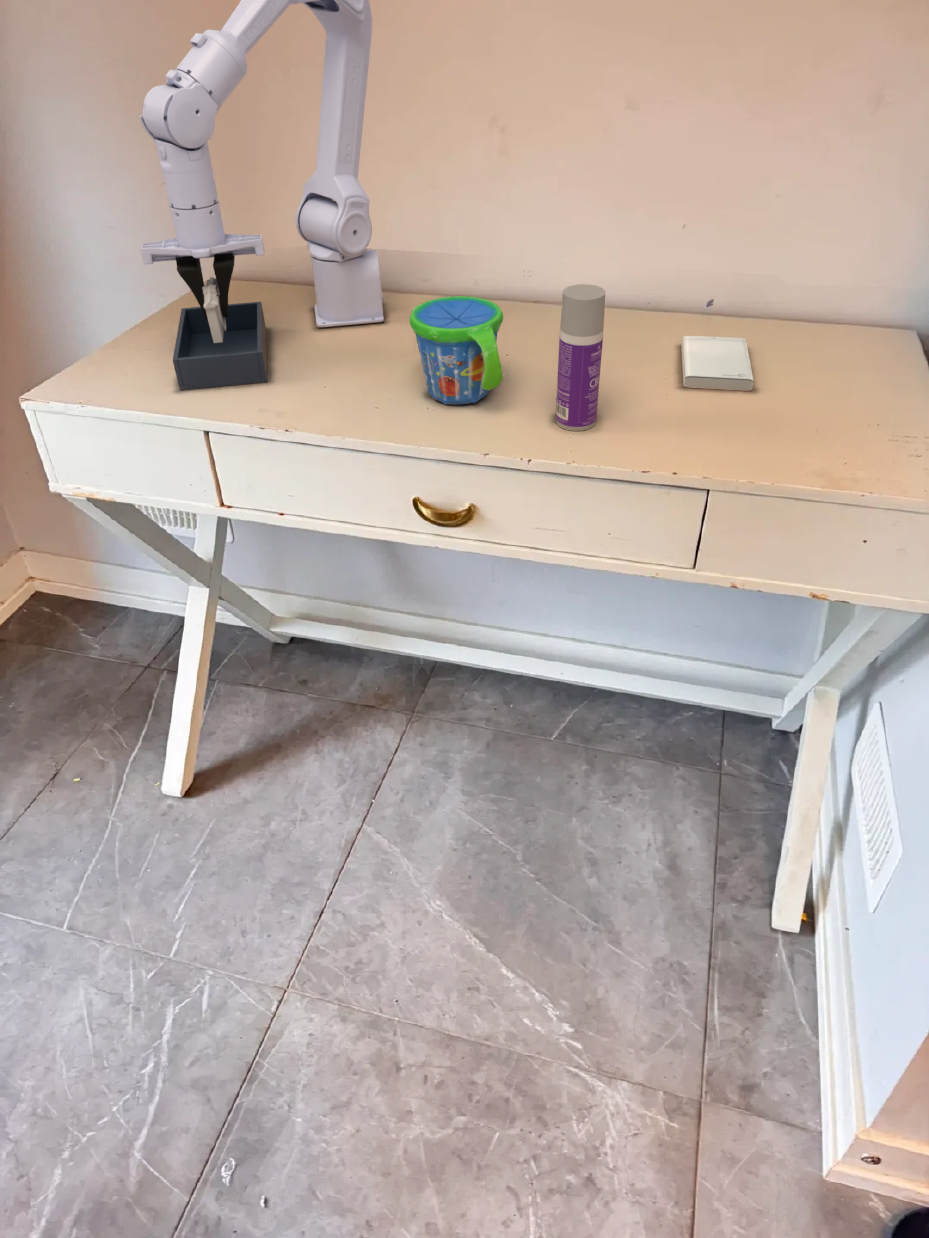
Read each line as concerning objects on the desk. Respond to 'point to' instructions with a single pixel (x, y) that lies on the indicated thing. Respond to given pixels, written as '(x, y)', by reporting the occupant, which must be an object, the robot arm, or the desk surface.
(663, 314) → the desk surface
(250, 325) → the tote
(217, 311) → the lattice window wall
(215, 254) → the robot arm
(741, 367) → the hard drive
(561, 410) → the container
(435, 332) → the snack cup
